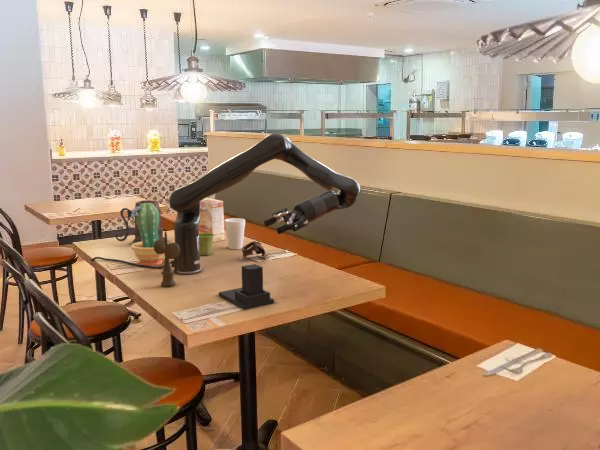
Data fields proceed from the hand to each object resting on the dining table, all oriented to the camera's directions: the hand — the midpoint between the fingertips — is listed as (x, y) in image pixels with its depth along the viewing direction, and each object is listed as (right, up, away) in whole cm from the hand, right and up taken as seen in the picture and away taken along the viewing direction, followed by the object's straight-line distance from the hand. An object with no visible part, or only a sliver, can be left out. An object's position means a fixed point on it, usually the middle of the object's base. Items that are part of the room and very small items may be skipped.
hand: (270, 227), depth 190 cm
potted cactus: (-55, -15, +47) cm, 74 cm away
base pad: (-9, -24, +2) cm, 26 cm away
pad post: (-6, -23, -2) cm, 24 cm away
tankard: (-70, -8, +82) cm, 108 cm away
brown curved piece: (-13, -13, +57) cm, 60 cm away
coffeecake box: (-40, -6, +94) cm, 103 cm away
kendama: (-39, -21, +17) cm, 47 cm away
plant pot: (-37, -12, +63) cm, 74 cm away
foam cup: (-25, -10, +75) cm, 80 cm away
